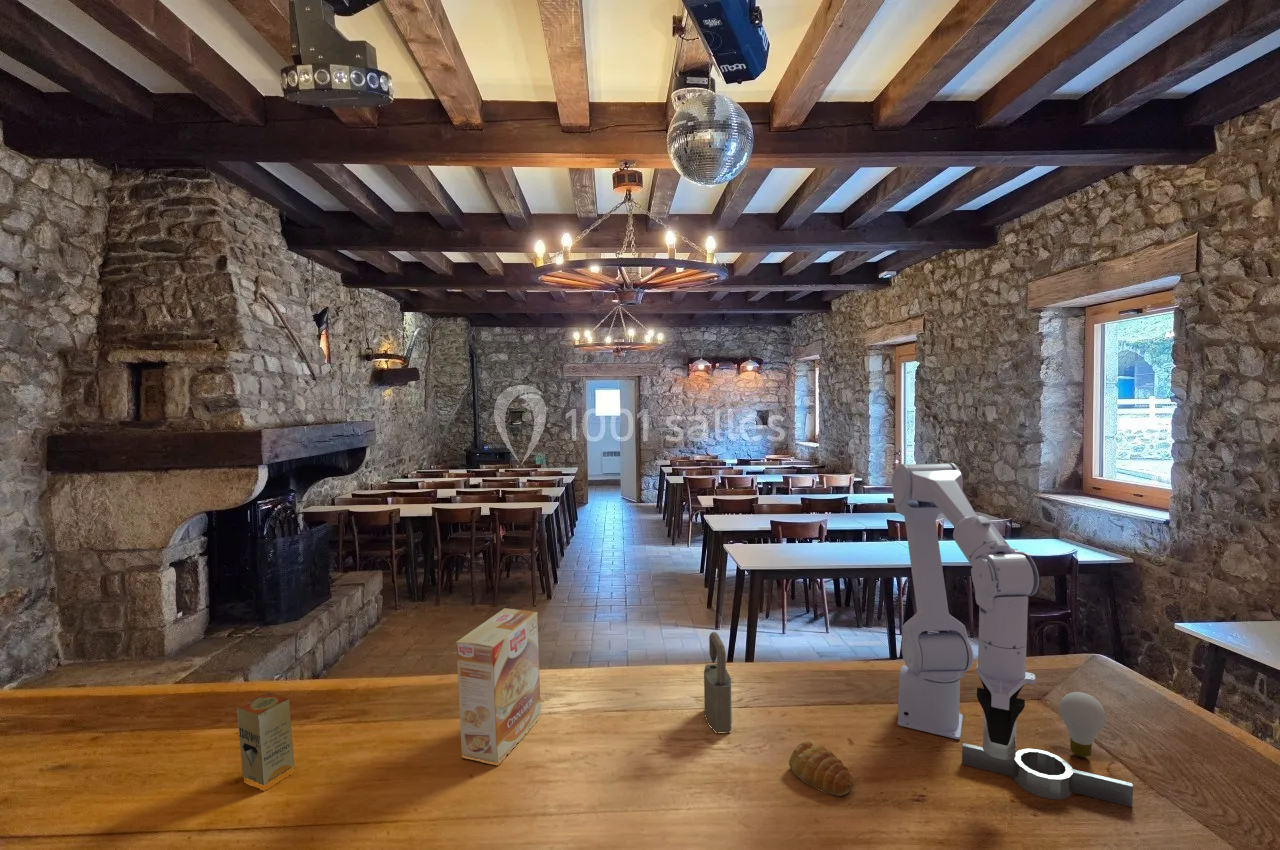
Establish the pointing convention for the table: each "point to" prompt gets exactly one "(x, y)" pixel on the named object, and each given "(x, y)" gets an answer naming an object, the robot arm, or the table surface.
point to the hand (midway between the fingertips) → (999, 734)
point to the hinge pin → (998, 749)
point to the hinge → (1049, 775)
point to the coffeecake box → (498, 683)
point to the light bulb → (1082, 720)
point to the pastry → (820, 769)
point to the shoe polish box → (265, 738)
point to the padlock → (717, 687)
